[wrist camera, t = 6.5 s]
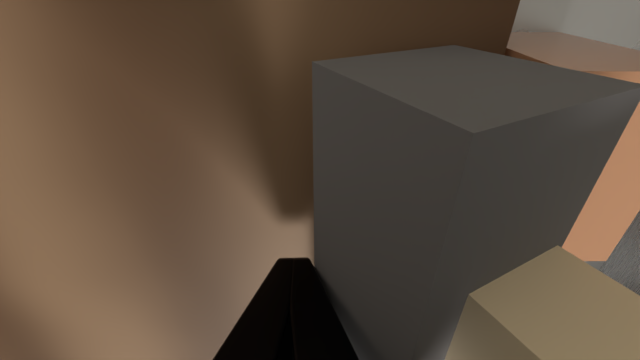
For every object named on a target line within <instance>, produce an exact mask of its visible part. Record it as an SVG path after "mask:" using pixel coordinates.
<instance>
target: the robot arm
mask: <svg viewBox="0 0 640 360" xmlns="http://www.w3.org/2000/svg"><path fill="white" fill-rule="evenodd" d="M213 360H359V358H358V356H357V354H356V352H355V350H354V348H353V346H352V344H351V342H350V340H349V338H348V336H347V334H346V332H345V330H344V328H343V325H342V323H341V321H340V319H339V317H338V315H337V313H336V311H335V309H334V307H333V305H332V303H331V301H330V299H329V297H328V295H327V293H326V291H325V289H324V287H323V285H322V283H321V280H320V278H319V276H318V274H317V272H316V270H315V268H314V266H313V264H312V262H311V260H310V259H309V258H308V257H298V258H279V259H278V260H277V261H276V262H275V264H274V266H273V267H272V269H271V270H270V272H269V273H268V275H267V276H266V278H265V279H264V281H263V282H262V284H261V286H260V287H259V289H258V290H257V292H256V293H255V295H254V296H253V298H252V299H251V301H250V303H249V304H248V306H247V307H246V309H245V310H244V312H243V313H242V315H241V316H240V318H239V320H238V321H237V323H236V324H235V326H234V327H233V329H232V330H231V332H230V333H229V335H228V336H227V338H226V340H225V341H224V343H223V344H222V346H221V347H220V349H219V350H218V352H217V353H216V355H215V357H214V358H213Z"/></svg>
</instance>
